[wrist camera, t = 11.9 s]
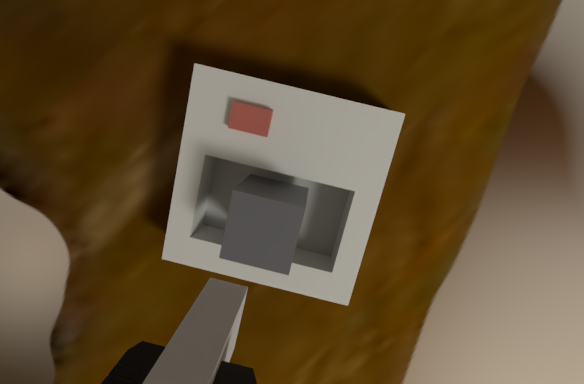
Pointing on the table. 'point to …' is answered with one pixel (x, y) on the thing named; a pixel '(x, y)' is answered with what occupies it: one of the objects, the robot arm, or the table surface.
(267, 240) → the plug
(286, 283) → the socket plate
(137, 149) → the table surface
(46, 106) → the table surface
